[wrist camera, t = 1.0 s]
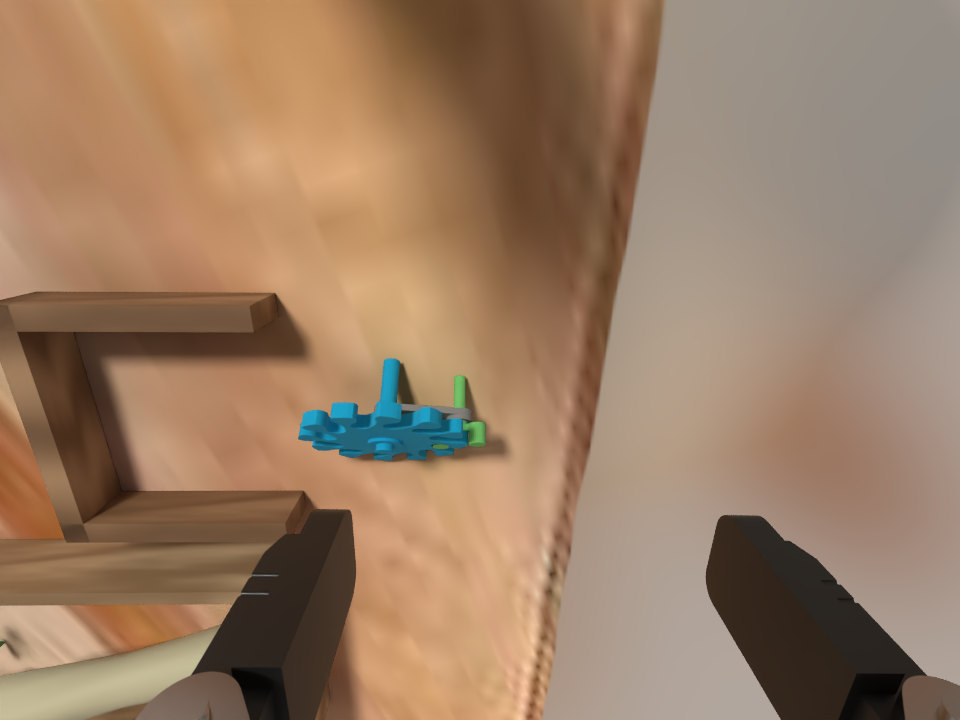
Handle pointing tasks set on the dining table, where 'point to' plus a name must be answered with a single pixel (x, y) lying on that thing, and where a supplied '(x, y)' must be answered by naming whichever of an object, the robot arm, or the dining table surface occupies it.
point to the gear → (394, 425)
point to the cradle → (78, 431)
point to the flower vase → (101, 681)
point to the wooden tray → (128, 578)
